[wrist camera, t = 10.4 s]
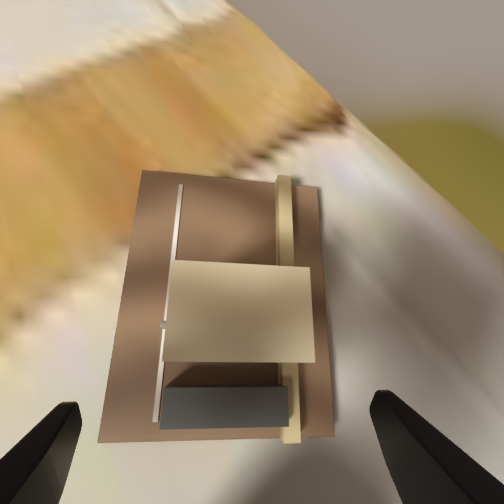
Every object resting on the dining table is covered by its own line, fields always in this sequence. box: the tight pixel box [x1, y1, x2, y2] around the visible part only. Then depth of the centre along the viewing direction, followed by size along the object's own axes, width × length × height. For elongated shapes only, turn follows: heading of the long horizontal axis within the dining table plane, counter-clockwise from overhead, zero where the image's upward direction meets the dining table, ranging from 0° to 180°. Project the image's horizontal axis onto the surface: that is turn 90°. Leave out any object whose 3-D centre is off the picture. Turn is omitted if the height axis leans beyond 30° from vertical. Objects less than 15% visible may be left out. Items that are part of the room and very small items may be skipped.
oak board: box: [98, 170, 335, 444], centre depth 20 cm, size 18×14×3 cm
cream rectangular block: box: [160, 260, 315, 363], centre depth 16 cm, size 4×7×8 cm, turn 90°
